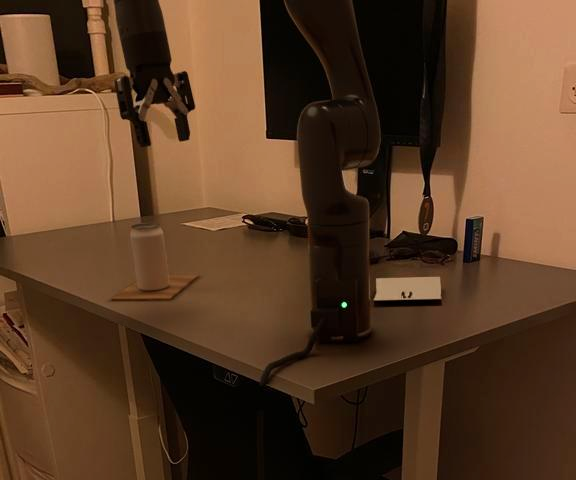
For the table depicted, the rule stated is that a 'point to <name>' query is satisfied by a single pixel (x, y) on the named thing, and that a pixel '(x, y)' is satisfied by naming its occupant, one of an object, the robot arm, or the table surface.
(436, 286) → the folded paper
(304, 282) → the table surface
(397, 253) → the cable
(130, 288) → the placemat
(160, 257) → the can
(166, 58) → the robot arm
